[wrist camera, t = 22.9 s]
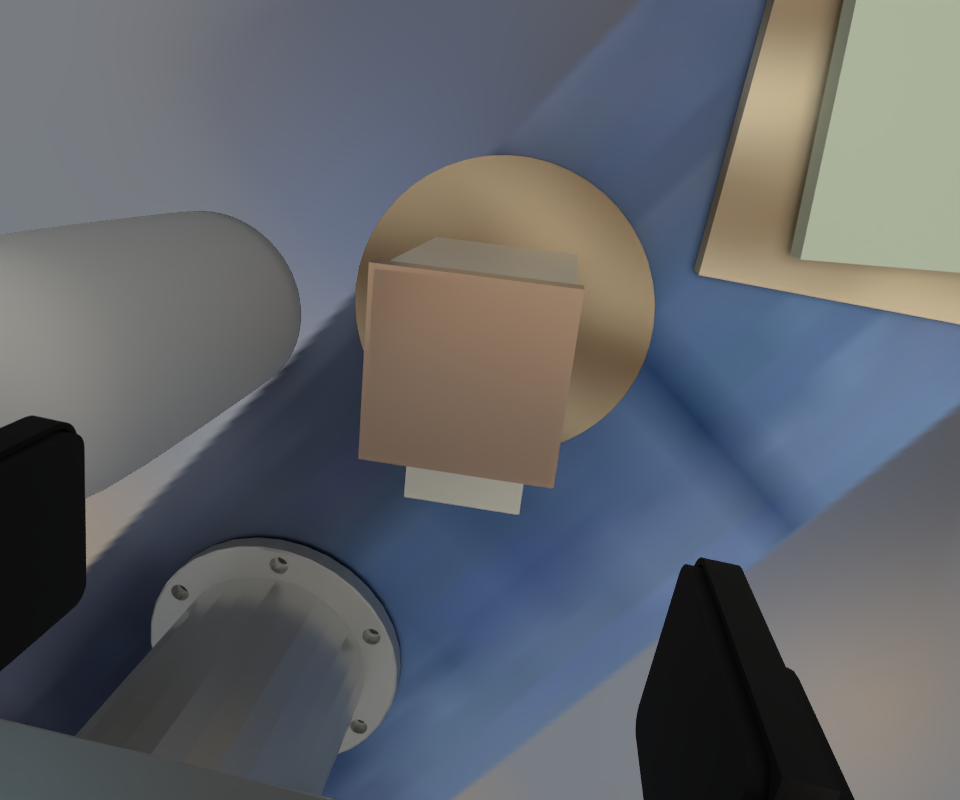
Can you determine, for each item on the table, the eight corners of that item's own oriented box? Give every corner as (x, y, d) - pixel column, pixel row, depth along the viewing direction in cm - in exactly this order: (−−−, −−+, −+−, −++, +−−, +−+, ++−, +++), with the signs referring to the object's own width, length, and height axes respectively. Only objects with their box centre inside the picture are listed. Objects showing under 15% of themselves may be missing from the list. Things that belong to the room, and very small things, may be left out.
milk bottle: (231, 171, 28) (-466, 179, 9) (342, 332, 30) (-64, 618, 11) (100, 273, 30) (-686, 447, 11) (210, 418, 32) (-322, 783, 13)
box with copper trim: (581, 250, 27) (584, 289, 18) (551, 449, 29) (541, 563, 21) (432, 232, 27) (369, 262, 19) (416, 429, 30) (354, 532, 21)
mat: (613, 472, 30) (614, 479, 29) (345, 416, 31) (341, 421, 30) (688, 186, 26) (691, 186, 25) (377, 130, 27) (373, 128, 26)
